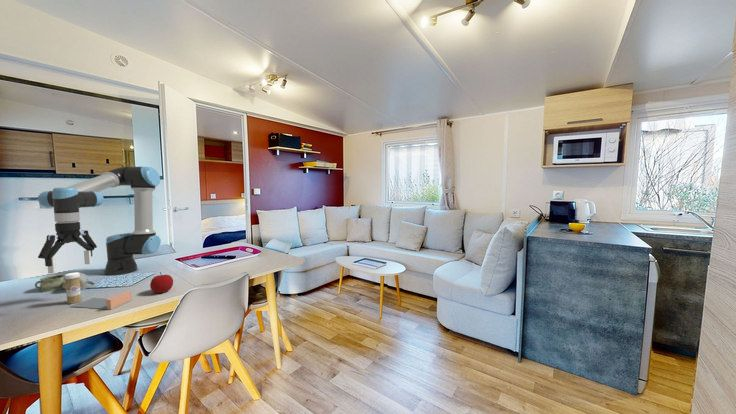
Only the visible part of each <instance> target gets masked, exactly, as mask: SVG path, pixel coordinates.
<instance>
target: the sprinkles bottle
mask: <svg viewBox="0 0 736 414" xmlns="http://www.w3.org/2000/svg"><path fill="white" fill-rule="evenodd" d="M79 273H80V271H79V272H78V271H77V272H75V271H74V272H70V273H66V274H64V275H65V280H66V289H65V293H66V294H65V295H66V300H67V301H66V304H68V305H74V304H78V303H81V302H82V296H81V294H82V291H81V289H80V281H79V277H80V274H79Z"/></svg>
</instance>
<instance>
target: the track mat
mask: <svg viewBox="0 0 736 414" xmlns="http://www.w3.org/2000/svg"><path fill="white" fill-rule="evenodd" d="M131 301H132V291H125V292H123V293H120V294H118V295H115V296H113V297H110V298H102V297H91V298H89V299H86V300H82V301H80V302H77V303H74V304H72V305H70V308H79V309H96V310H97V309H98V310H113V309H116V308H118V307H120V306H122V305H123V306H124V305H125V304H128V303H130V302H131Z"/></svg>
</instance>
